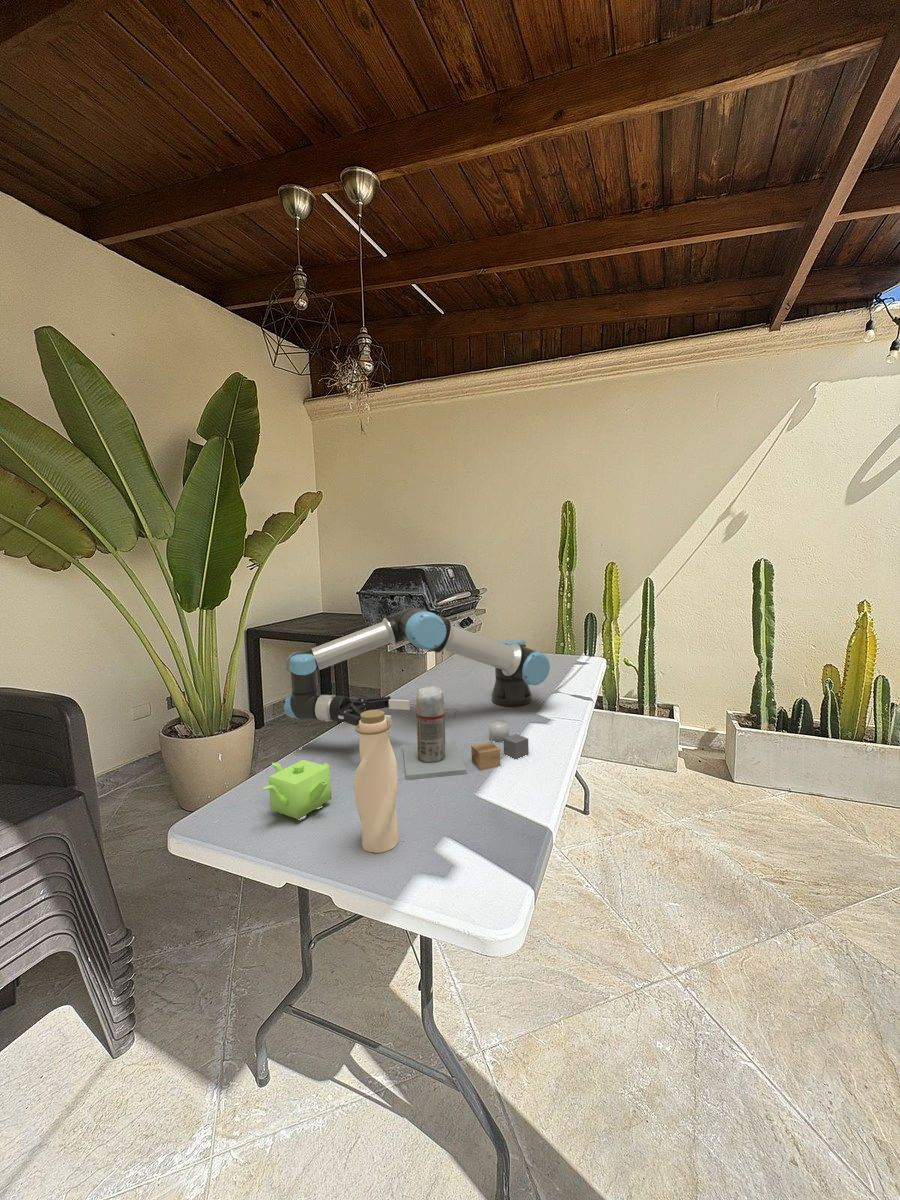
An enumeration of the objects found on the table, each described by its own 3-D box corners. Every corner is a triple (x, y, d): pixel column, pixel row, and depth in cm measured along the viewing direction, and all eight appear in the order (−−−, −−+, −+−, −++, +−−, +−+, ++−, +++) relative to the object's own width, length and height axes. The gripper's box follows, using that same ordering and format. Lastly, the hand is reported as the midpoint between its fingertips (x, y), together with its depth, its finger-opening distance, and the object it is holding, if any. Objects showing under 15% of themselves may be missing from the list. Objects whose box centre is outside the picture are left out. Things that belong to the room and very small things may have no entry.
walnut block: (471, 762, 150) (471, 745, 149) (491, 758, 152) (490, 741, 151) (480, 770, 144) (479, 753, 143) (500, 766, 146) (499, 749, 145)
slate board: (403, 750, 160) (402, 746, 160) (455, 745, 162) (455, 741, 162) (406, 779, 140) (406, 775, 140) (466, 773, 142) (466, 769, 142)
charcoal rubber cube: (503, 754, 154) (503, 738, 153) (516, 750, 157) (516, 733, 156) (516, 760, 150) (515, 743, 149) (528, 755, 153) (528, 738, 152)
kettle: (266, 831, 118) (262, 783, 117) (270, 801, 132) (266, 758, 131) (335, 819, 122) (332, 772, 121) (332, 791, 136) (329, 749, 134)
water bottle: (360, 828, 117) (352, 706, 114) (401, 825, 118) (394, 703, 115) (356, 856, 107) (347, 722, 104) (401, 852, 108) (393, 719, 105)
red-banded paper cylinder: (451, 753, 153) (449, 685, 150) (439, 765, 145) (436, 694, 143) (425, 749, 156) (422, 683, 154) (412, 761, 149) (408, 691, 146)
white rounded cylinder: (487, 736, 168) (487, 720, 168) (506, 734, 169) (505, 719, 168) (491, 743, 162) (491, 727, 162) (511, 741, 163) (510, 725, 162)
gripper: (354, 707, 171) (416, 711, 164) (312, 736, 147) (383, 741, 141) (353, 684, 170) (415, 687, 163) (310, 709, 146) (381, 714, 140)
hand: (400, 712), depth 152 cm, fingers open, 13 cm apart
